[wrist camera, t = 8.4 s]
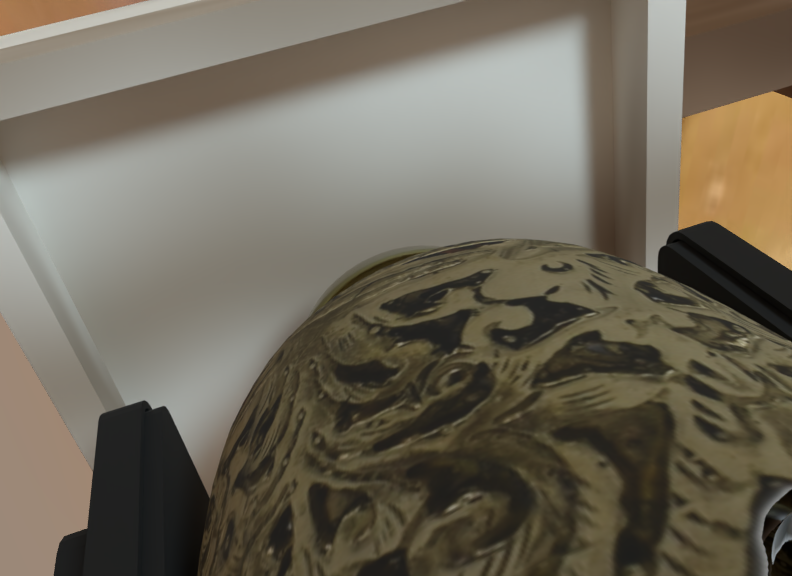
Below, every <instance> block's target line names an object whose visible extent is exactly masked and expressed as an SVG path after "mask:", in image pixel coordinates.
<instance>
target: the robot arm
mask: <svg viewBox="0 0 792 576" xmlns="http://www.w3.org/2000/svg"><path fill="white" fill-rule="evenodd" d="M658 273H659V274H661V275H664V276H666V277H668V278H670V279H673V280H675V281H677V282H679V283H682V284H684V285H686V286H688V287H691V288H693V289H695V290H697V291H699V292H700V293H702V294H704V295H706V296H708V297H710V298H712V299H714V300H716V301H718V302H720V303H722V304H724V305H726V306H727V307H729V308H731V309H733V310H735V311H737V312H739V313H741V314H742V315H744V316H746V317H748V318H750V319H751V320H753V321H755V322H757V323H759V324H760V325H762V326H764V327H766V328H768V329H769V330H771V331H773V332H775V333H777V334H778V335H780V336H782V337H784V338H785V339H787V340H789V341H791V342H792V271H791V270H789V269H788V268H786V267H785V266H783V265H782V264H780V263H778V262H777V261H775V260H774V259H772V258H771V257H769V256H768V255H766V254H764V253H763V252H761V251H760V250H758V249H757V248H755V247H754V246H752V245H750V244H749V243H747V242H746V241H744V240H743V239H741V238H740V237H738V236H736V235H735V234H733V233H732V232H730V231H729V230H727V229H726V228H724V227H722V226H721V225H719V224H718V223H715V222H713V221H708V222H704V223H701V224H697V225H694V226H691V227H688V228H685V229H682V230H679V231H675V232H673V233H671V234H670V235H669V237H668V239H667V242H666V245H665V246H663V247H661V248H660V250H659V252H658ZM209 501H210V498H209V495H208V493H207V491H206V489H205V487H204V485H203V483H202V480H201V478H200V476H199V474H198V472H197V470H196V468H195V465H194V463H193V461H192V459H191V457H190V455H189V453H188V450H187V448H186V446H185V444H184V442H183V440H182V438H181V435H180V433H179V431H178V429H177V427H176V425H175V423H174V420H173V418H172V416H171V414H170V412H169V410H168V409H167V408H166V406H161V407H158V408H155V409H152V408H151V406H150V404H149V403H148V402H147V401H145V400H143V401H140V402H137V403H134V404H131V405H127V406H124V407H121V408H118V409H115V410H112V411H108V412H105V413H102V414H101V415H100V416H99V421H98V429H97V439H96V449H95V459H94V469H93V479H92V488H91V499H90V508H89V519H88V528H87V529H84V530H81V531H78V532H75V533H73V534H70V535H67V536H64V538H63V539H62V541H61V542H60V544H59V548H58V551H57V557H56V563H55V571H54V576H197V574H198V566H199V557H200V550H201V545H202V539H203V534H204V528H205V522H206V517H207V511H208V506H209Z"/></svg>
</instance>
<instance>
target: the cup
mask: <svg viewBox="0 0 792 576" xmlns="http://www.w3.org/2000/svg"><path fill="white" fill-rule="evenodd" d="M197 576H792V342H791V341H789V340H787V339H785V338H784V337H782V336H780V335H778V334H777V333H775V332H773V331H771V330H769V329H768V328H766V327H764V326H762V325H760V324H759V323H757V322H755V321H753V320H751V319H750V318H748V317H746V316H744V315H742V314H741V313H739V312H737V311H735V310H733V309H731V308H729V307H727V306H726V305H724V304H722V303H720V302H718V301H716V300H714V299H712V298H710V297H708V296H706V295H704V294H702V293H700V292H699V291H697V290H695V289H693V288H691V287H688V286H686V285H684V284H682V283H679V282H677V281H675V280H673V279H670V278H668V277H666V276H664V275H661V274H659V273H657V272H655V271H652V270H650V269H648V268H645V267H643V266H641V265H638V264H636V263H634V262H631V261H628V260H625V259H622V258H619V257H616V256H613V255H610V254H607V253H604V252H600V251H597V250H593V249H589V248H586V247H582V246H578V245H575V244H567V243H560V242H553V241H545V240H533V239H503V238H499V239H488V240H477V241H469V242H464V243H459V244H454V245H449V246H444V247H440V246H408V247H402V248H397V249H393V250H389V251H386V252H383V253H380V254H377V255H375V256H373V257H370V258H368V259H366V260H364V261H362V262H361V263H359V264H357V265H355V266H354V267H352V268H351V269H349V270H348V271H346V272H345V273H344V274H343V275H342V276H340V277H339V278H338V279H337V280H336V281H335V282H334V283H333V284H332V285H331V286H330V287H329V288H328V289H327V290H326V291H325V292H324V293H323V295H322V296H321V297H320V298H319V300H318V301H317V303H316V304H315V306H314V307H313V309H312V310H311V312H310V314H309V316H308V318H307V320H306V321H305V322H304V323H303V324H302V325H301V326H299V327H298V328H297V329H296V330H295V331H294V332H293V333H292V334H291V335H290V336H289V337H288V338H287V339H286V341H285V342H284V343H283V344H282V345H281V347H280V348H279V349H278V350H277V352H276V353H275V354H274V355H273V357H272V358H271V359H270V360H269V361H268V363H267V364H266V366H265V368H264V369H263V371H262V372H261V374H260V375H259V377H258V378H257V380H256V381H255V383H254V385H253V386H252V388H251V390H250V392H249V393H248V395H247V397H246V399H245V400H244V402H243V404H242V406H241V408H240V410H239V412H238V414H237V416H236V418H235V420H234V422H233V424H232V426H231V429H230V431H229V434H228V437H227V440H226V443H225V446H224V449H223V452H222V455H221V458H220V462H219V465H218V468H217V472H216V475H215V479H214V482H213V485H212V491H211V496H210V501H209V506H208V511H207V517H206V522H205V528H204V534H203V539H202V545H201V550H200V557H199V566H198V574H197Z"/></svg>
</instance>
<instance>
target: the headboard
mask: <svg viewBox="0 0 792 576" xmlns="http://www.w3.org/2000/svg"><path fill="white" fill-rule="evenodd" d="M771 91H774V92H777V93H779V94H782V95H785V96H788V97H790V98H792V0H149V1H144V2H140V3H136V4H132V5H128V6H124V7H120V8H115V9H111V10H107V11H103V12H99V13H95V14H91V15H87V16H82V17H78V18H74V19H70V20H66V21H62V22H58V23H53V24H49V25H45V26H41V27H37V28H33V29H29V30H25V31H20V32H16V33H12V34H8V35H4V36H0V312H1V314H2V316H3V318H4V319H5V321H6V323H7V324H8V326H9V328H10V330H11V331H12V333H13V335H14V337H15V338H16V340H17V342H18V344H19V345H20V347H21V349H22V350H23V352H24V354H25V355H26V357H27V359H28V361H29V362H30V364H31V366H32V368H33V369H34V371H35V373H36V374H37V376H38V378H39V380H40V381H41V383H42V385H43V387H44V388H45V390H46V392H47V394H48V395H49V397H50V399H51V400H52V402H53V404H54V405H55V407H56V409H57V411H58V412H59V414H60V416H61V418H62V419H63V421H64V423H65V425H66V426H67V428H68V430H69V431H70V433H71V435H72V437H73V438H74V440H75V442H76V443H77V445H78V447H79V449H80V450H81V452H82V454H83V455H84V457H85V459H86V461H87V462H88V464H89V466H90V467H91V469H92V471H93V469H94V459H95V449H96V439H97V429H98V421H99V416H100V415H101V414H102V413H105V412H108V411H112V410H115V409H118V408H121V407H124V406H127V405H131V404H134V403H137V402H140V401H143V400H145V401H147V402H148V403H149V404H150V406H151V408H152V409H155V408H158V407H161V406H166V408H167V409H168V410H169V412H170V414H171V416H172V418H173V420H174V423H175V425H176V427H177V429H178V431H179V433H180V435H181V438H182V440H183V442H184V444H185V446H186V448H187V450H188V453H189V455H190V457H191V459H192V461H193V463H194V465H195V468H196V470H197V472H198V474H199V476H200V478H201V480H202V483H203V485H204V487H205V489H206V491H207V493H208V495H209V498H210V496H211V491H212V485H213V482H214V479H215V475H216V472H217V468H218V465H219V462H220V458H221V455H222V452H223V449H224V446H225V443H226V440H227V437H228V434H229V431H230V429H231V426H232V424H233V422H234V420H235V418H236V416H237V414H238V412H239V410H240V408H241V406H242V404H243V402H244V400H245V399H246V397H247V395H248V393H249V392H250V390H251V388H252V386H253V385H254V383H255V381H256V380H257V378H258V377H259V375H260V374H261V372H262V371H263V369H264V368H265V366H266V364H267V363H268V361H269V360H270V359H271V358H272V357H273V355H274V354H275V353H276V352H277V350H278V349H279V348H280V347H281V345H282V344H283V343H284V342H285V341H286V339H287V338H288V337H289V336H290V335H291V334H292V333H293V332H294V331H295V330H296V329H297V328H298V327H299V326H301V325H302V324H303V323H304V322H305V321H306V320H307V318H308V316H309V314H310V312H311V310H312V309H313V307H314V306H315V304H316V303H317V301H318V300H319V298H320V297H321V296H322V295H323V293H324V292H325V291H326V290H327V289H328V288H329V287H330V286H331V285H332V284H333V283H334V282H335V281H336V280H337V279H338V278H339V277H340V276H342V275H343V274H344V273H345V272H346V271H348V270H349V269H351V268H352V267H354V266H355V265H357V264H359V263H361V262H362V261H364V260H366V259H368V258H370V257H373V256H375V255H377V254H380V253H383V252H386V251H389V250H393V249H397V248H402V247H408V246H440V247H444V246H449V245H454V244H459V243H464V242H469V241H477V240H488V239H499V238H503V239H533V240H545V241H553V242H560V243H567V244H575V245H578V246H582V247H586V248H589V249H593V250H597V251H600V252H604V253H607V254H610V255H613V256H616V257H619V258H622V259H625V260H628V261H631V262H634V263H636V264H638V265H641V266H643V267H645V268H648V269H650V270H652V271H655V272H657V273H658V252H659V250H660V248H661V247H663V246H665V245H666V242H667V239H668V237H669V235H670V234H671V233H673V232H675V231H678V214H679V186H680V158H681V131H682V118H683V117H687V116H690V115H693V114H697V113H700V112H704V111H707V110H710V109H714V108H717V107H720V106H724V105H727V104H731V103H734V102H737V101H741V100H744V99H748V98H751V97H754V96H758V95H761V94H764V93H768V92H771Z"/></svg>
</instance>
